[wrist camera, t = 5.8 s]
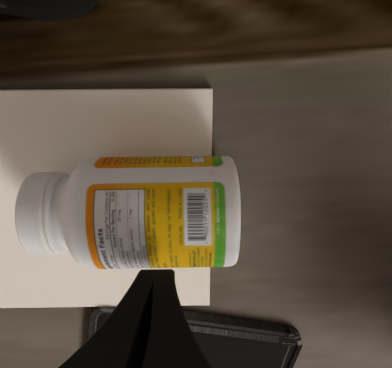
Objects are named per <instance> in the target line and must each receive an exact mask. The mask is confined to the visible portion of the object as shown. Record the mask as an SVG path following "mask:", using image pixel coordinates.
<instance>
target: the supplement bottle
mask: <svg viewBox="0 0 392 368" xmlns="http://www.w3.org/2000/svg"><path fill="white" fill-rule="evenodd" d="M15 228H16V232H17V236H18V239H19V242H20V244H21V245H22V247H23V248H24V249H25V250H26V251H27V252H28V253H31V254H35V255H57V254H64V253H66V252H67V251H68V250H69V252H70V254H71V255H72V257H73V258H74V260H75V261H76V262H77V263H78V264H80V265H81V266H83V267H85V268H89V269H133V268H192V267H229V266H233V265H234V264H235V263H236V262H237V260H238V256H239V248H240V235H241V198H240V186H239V179H238V173H237V169H236V165H235V162H234V160H233V159H232V158H231V157H229V156H179V157H177V156H174V157H101V158H90V159H87V160H84V161H83V162H81V163H80V164H78V165H77V166H76V168H75V169H74V170H73V172H72V174H71V176H69V175H68V174H66V173H64V172H37V173H33V174H30V175H29V176H28V177H26V179H25V180H24V181H23V183H22V184H21V187H20V189H19V191H18V195H17V198H16V204H15Z"/></svg>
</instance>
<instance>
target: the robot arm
mask: <svg viewBox="0 0 392 368" xmlns="http://www.w3.org/2000/svg"><path fill="white" fill-rule="evenodd" d="M59 368H212V366H211V365H210V363H209V362H208V360H207V358H206V357H205V355H204V354H203V352H202V350H201V348H200V347H199V345H198V343H197V341H196V339H195V337H194V335H193V333H192V331H191V329H190V327H189V325H188V322H187V320H186V317H185V315H184V312H183V310H182V307H181V304H180V301H179V298H178V294H177V290H176V285H175V272H174V271H173V270H172V269H146V270H140V271H139V273H138V274H137V276H136V278H135V280H134V281H133V283H132V285H131V286H130V288H129V289H128V291H127V292H126V294H125V295H124V296H123V298H122V299H121V301H120V302H119V304H118V305H117V306H116V308H115V309H114V310H113V311H112V313H111V314H110V315H109V316H108V318H107V319H106V320H105V321H104V323H103V324H102V325H101V326H100V327H99V329H98V330H97V331H96V332H95V333H94V334H93V335H92V336H91V337H90V338H89V339H88V340H87V341H86V343H85V344H84V345H83V346H81V347H80V348H79V349H78V350H77V351H76V352H75V353H74V354H73V355H72V356H71V357H70V358H69V359H68V360H67V361H66V362H64V363H63V364H62V365H61V366H60V367H59Z"/></svg>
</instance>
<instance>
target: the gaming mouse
mask: <svg viewBox="0 0 392 368" xmlns="http://www.w3.org/2000/svg"><path fill="white" fill-rule="evenodd" d="M98 1H99V0H0V13H1V14H7V15H13V16H19V17H25V18H31V19H36V20H42V21H50V20H58V19H66V18H74V17H80V16H82V15H84V14H86V13H88V12H90V11H91V10H92V9H93V8H94V6H95V5H96V4H97V3H98Z"/></svg>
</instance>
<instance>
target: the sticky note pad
mask: <svg viewBox="0 0 392 368" xmlns="http://www.w3.org/2000/svg"><path fill="white" fill-rule="evenodd" d="M212 108H213V89H212V88H168V89H22V90H0V308H38V307H103V306H110V307H114V306H117V305H118V304H119V302H120V301H121V299H122V298H123V296H124V295H125V294H126V292H127V291H128V289H129V288H130V286H131V285H132V283H133V281H134V280H135V278H136V276H137V274H138V273H139V271H140V270H146V269H172V270H173V271H174V272H175V285H176V290H177V294H178V298H179V301H180V304H181V306H189V305H210V267H192V268H133V269H89V268H85V267H83V266H81V265H80V264H78V263H77V262H76V261H75V260H74V258H73V257H72V255H71V254H70V252H69V250H68V251H67V252H66V253H64V254H57V255H35V254H31V253H28V252H27V251H26V250H25V249H24V248H23V247H22V245H21V244H20V242H19V239H18V236H17V232H16V228H15V204H16V198H17V195H18V191H19V189H20V187H21V184H22V183H23V181H24V180H25V179H26V177H28V176H29V175H30V174H33V173H37V172H64V173H66V174H68V175H69V176H71V174H72V172H73V170H74V169H75V168H76V166H77V165H78V164H80V163H81V162H83V161H84V160H87V159H90V158H101V157H174V156H177V157H179V156H212Z"/></svg>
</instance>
